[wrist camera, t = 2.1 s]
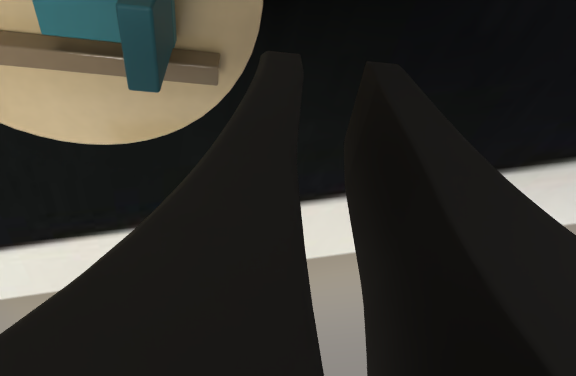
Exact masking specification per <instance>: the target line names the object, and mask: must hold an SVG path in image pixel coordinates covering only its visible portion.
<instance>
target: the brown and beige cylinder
mask: <svg viewBox="0 0 576 376" xmlns="http://www.w3.org/2000/svg"><path fill="white" fill-rule="evenodd" d="M263 1H264V0H175V18H176V35H177V41H176V44H175V47H174V48H173V49H172V52H171V56H170V59H169V63H168V66H167V69H166V73H165V76H164V80H163V83H162V86H161V90H160V92H158V93H154V92H143V91H132V90H129V89H128V85H127V78H126V72H125V65H124V59H123V52H122V45H121V43H118V42H109V41H99V40H89V39H80V38H70V37H60V36H50V35H43V34H42V33H41V30H40V27H39V23H38V20H37V16H36V12H35V9H34V5H33V2H32V0H0V123H1V124H4V125H6V126H9V127H12V128H14V129H17V130H21V131H24V132H27V133H31V134H34V135H37V136H41V137H46V138H50V139H55V140H60V141H66V142H74V143H81V144H101V145H110V144H126V143H133V142H139V141H145V140H150V139H153V138H157V137H160V136H163V135H167V134H169V133H172V132H174V131H176V130H179V129H181V128H183V127H185V126H187V125H189V124H190V123H192V122H194V121H196V120H197V119H199V118H201V117H202V116H203V115H205V114H206V113H207V112H208V111H210V110H211V109H212V108H213V107H215V106H216V105H217V104H218V103H219V102H220V101H221V100H222V99H223V98H224V97H225V95H226V94H227V93H228V92H229V91H230V90H231V89H232V87H233V86H234V85H235V83H236V82H237V80H238V79H239V77H240V76H241V74H242V73H243V71H244V69H245V67H246V65H247V63H248V61H249V58H250V56H251V54H252V52H253V49H254V46H255V42H256V39H257V36H258V33H259V29H260V22H261V16H262V9H263Z"/></svg>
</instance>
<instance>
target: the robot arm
mask: <svg viewBox="0 0 576 376" xmlns="http://www.w3.org/2000/svg"><path fill="white" fill-rule="evenodd" d="M303 76H304V72H303V66H302V60H301V56H300V54H293V53H284V52H274V51H266V52H265V53H264V54H262V55H261V56H260V62H259V65H258V68H257V71H256V73H255V76H254V78H253V80H252V82H251V84H250V86H249V88H248V90H247V92H246V94H245V96H244V97H243V99H242V101H241V102H240V104H239V106H238V108H237V109H236V111H235V113H234V114H233V116H232V118H231V119H230V121H229V122H228V124H227V125H226V126H225V128H224V129H223V131H222V132H221V133H220V135H219V136H218V138H217V139H216V141H215V142H214V143H213V145H212V146H211V147H210V149H209V150H208V151H207V153H206V154H205V155H204V156H203V158H202V159H201V160H200V161H199V163H198V164H197V165H196V166H195V167H194V169H193V170H192V171H191V172H190V173H189V174H188V176H187V177H186V178H185V179H184V180H183V181H182V182H181V183H180V185H179V186H178V187H177V188H176V189H175V190H174V191H173V192H172V193H171V194H170V195H169V196H168V197H167V198H166V199H165V200H164V201H163V202H162V203H161V204H160V205H159V206H158V207H157V208H156V209H155V210H154V211H153V212H152V213H151V214H150V215H149V216H148V217H147V218H146V219H145V220H144V221H143V222H142V223H141V224H140V225H139V226H138V227H136V228H135V229H134V230H133V231H132V232H131V233H130V234H129V235H127V236H126V237H125V238H124V239H123V240H122V241H120V242H119V243H118V244H117V245H116V246H114V247H113V248H112V249H111V250H110V251H109V252H107V253H106V254H105V255H104V256H103V257H101V258H100V259H99V260H98V261H97V262H96V263H94V264H93V265H92V266H91V267H90V268H89V269H87V270H86V271H85V272H84V273H82V274H81V275H80V276H79V277H77V278H76V279H75V280H74V281H72V282H71V283H70V284H68V285H67V286H66V287H64V288H63V289H62V290H60V291H59V292H57V293H56V294H55V295H53V296H52V297H51V298H49V299H48V300H47V301H45V302H44V303H42V304H41V305H40V306H38V307H37V308H36V309H34V310H33V311H32V312H30V313H29V314H27V315H26V316H25V317H23V318H22V319H20V320H19V321H18V322H16V323H15V324H14V325H13V326H11V327H10V328H8V329H7V330H5V331H4V332H3V333H1V334H0V376H324V373H323V368H322V361H321V356H320V349H319V343H318V337H317V331H316V325H315V319H314V312H313V306H312V299H311V292H310V284H309V277H308V269H307V262H306V254H305V246H304V236H303V226H302V217H301V207H300V196H299V183H298V171H297V141H298V130H299V120H300V109H301V98H302V88H303ZM344 172H345V189H346V196H347V202H348V208H349V214H350V221H351V226H352V232H353V238H354V244H355V250H356V256H357V262H358V268H359V274H360V280H361V287H362V295H363V303H364V318H365V334H366V351H367V374H368V376H576V235H575V234H573V233H572V232H570V231H569V230H568V229H566V228H565V227H564V226H563V225H561V224H560V223H559V222H557V221H556V220H555V219H554V218H552V217H551V216H550V215H549V214H547V213H546V212H545V211H544V210H542V209H541V208H540V207H539V206H538V205H536V204H535V203H534V202H533V201H532V200H530V199H529V198H528V197H527V196H526V195H524V194H523V193H522V192H521V191H519V190H518V189H517V188H516V187H515V186H514V185H513V184H512V183H510V182H509V181H508V180H507V179H506V178H505V177H504V176H503V175H502V174H501V173H499V172H498V171H497V170H496V169H495V168H494V167H493V166H492V165H491V164H490V163H489V162H488V161H487V160H486V159H485V158H484V157H483V156H482V155H481V154H480V153H479V152H478V151H477V150H476V149H475V148H474V147H473V146H472V145H471V144H470V143H469V142H468V141H467V140H466V139H465V138H464V137H463V136H462V135H461V134H460V133H459V132H458V130H457V129H456V128H455V127H454V126H453V125H452V124H451V123H450V122H449V121H448V120H447V118H446V117H445V116H444V115H443V114H442V113H441V112H440V111H439V109H438V108H437V107H436V106H435V105H434V104H433V103H432V101H431V100H430V99H429V98H428V97H427V96H426V95H425V93H424V92H423V91H422V90H421V89H420V88H419V86H418V85H417V84H416V83H415V82H414V81H413V80H412V78H411V77H410V76H409V75H408V74H407V73H406V72H405V71H404V70H403V69H402V68H401V67H400V66H399V65H398V64H389V63H380V62H370V61H366V64H365V68H364V72H363V75H362V79H361V82H360V86H359V90H358V93H357V97H356V100H355V104H354V108H353V111H352V115H351V119H350V122H349V126H348V129H347V133H346V137H345V140H344Z"/></svg>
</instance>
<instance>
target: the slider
mask: <svg viewBox="0 0 576 376" xmlns="http://www.w3.org/2000/svg"><path fill="white" fill-rule="evenodd" d="M32 2H33V5H34V9H35V12H36V16H37V20H38V23H39V27H40V30H41V33H42V34H43V35H50V36H60V37H70V38H80V39H89V40H99V41H109V42H118V43H121V45H122V52H123V59H124V65H125V72H126V78H127V85H128V89H129V90H132V91H143V92H154V93H158V92H160V90H161V86H162V83H163V80H164V76H165V73H166V69H167V66H168V63H169V59H170V56H171V52H172V49H173V48H174V47H175V44H176V41H177V35H176V18H175V0H32Z"/></svg>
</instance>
